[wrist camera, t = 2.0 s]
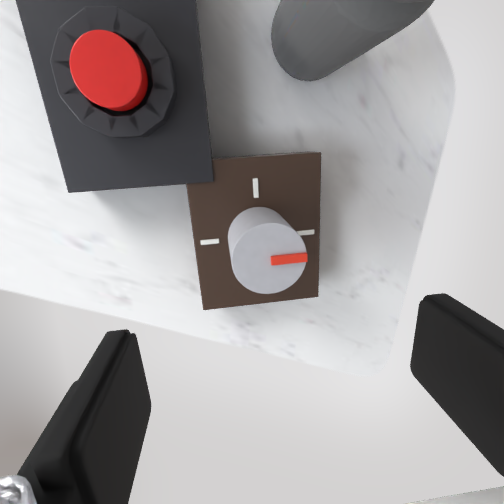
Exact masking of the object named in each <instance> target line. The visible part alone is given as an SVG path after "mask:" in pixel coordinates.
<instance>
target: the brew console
mask: <svg viewBox="0 0 504 504" xmlns="http://www.w3.org/2000/svg"><path fill="white" fill-rule="evenodd" d="M212 166H213V176H214V182H203V183H190V184H186V185H187V193H188V200H189V207H190V215H191V222H192V230H193V237H194V244H195V252H196V259H197V266H198V274H199V281H200V289H201V296H202V303H203V310H209V309H217V308H226V307H234V306H243V305H251V304H260V303H269V302H277V301H286V300H294V299H303V298H311V297H318V286H319V233H320V181H321V152H296V153H281V154H267V155H252V156H237V157H223V158H212ZM253 207H266V208H269V209H272V210H274V211H276V212H277V213H278V214H280V215H281V217H282V218H283V219H284V220H285V221H286V222H287V223H288V224H289V225H290V226H291V227H292V228H293V229H294V230H295V231H296V232H297V233H298V234H299V235H300V237H301V238H302V240H303V242H304V244H305V247H306V252H307V254H308V256H307V262H306V265H305V268H304V270H303V272H302V274H301V276H300V277H299V278H298V280H297V281H296V282H295V283H294V284H293V285H291V286H290V287H288V288H287V289H285V290H283V291H280V292H277V293H272V294H261V293H257V292H253V291H251V290H249V289H247V288H246V287H244V286H243V285H242V284H241V283H240V282H239V281H238V279H237V278H236V276H235V274H234V272H233V269H232V263H231V257H230V250H229V244H228V231H229V228H230V225H231V223H232V222H233V220H234V219H235V218H236V217H237V216H238V215H239V214H240V213H241V212H243V211H245V210H247V209H249V208H253Z"/></svg>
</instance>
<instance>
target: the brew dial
mask: <svg viewBox="0 0 504 504" xmlns="http://www.w3.org/2000/svg"><path fill="white" fill-rule="evenodd" d="M228 244H229V250H230V257H231V263H232V269H233V272H234V274H235V276H236V278H237V279H238V281H239V282H240V283H241V284H242V285H243V286H244V287H246V288H247V289H249V290H251V291H253V292H257V293H261V294H272V293H277V292H280V291H283V290H285V289H287V288H288V287H290V286H291V285H293V284H294V283H295V282H296V281H297V280H298V278H299V277H300V276H301V274H302V272H303V270H304V268H305V265H306V262H307V256H308V254H307V252H306V247H305V244H304V242H303V240H302V238H301V237H300V235H299V234H298V233H297V232H296V231H295V230H294V229H293V228H292V227H291V226H290V225H289V224H288V223H287V222H286V221H285V220H284V219H283V218H282V217H281V215H280V214H278V213H277V212H276V211H274V210H272V209H269V208H266V207H253V208H249V209H247V210H245V211H243V212H241V213H240V214H239V215H238V216H237V217H236V218H235V219H234V220H233V222H232V223H231V225H230V228H229V231H228Z"/></svg>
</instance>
